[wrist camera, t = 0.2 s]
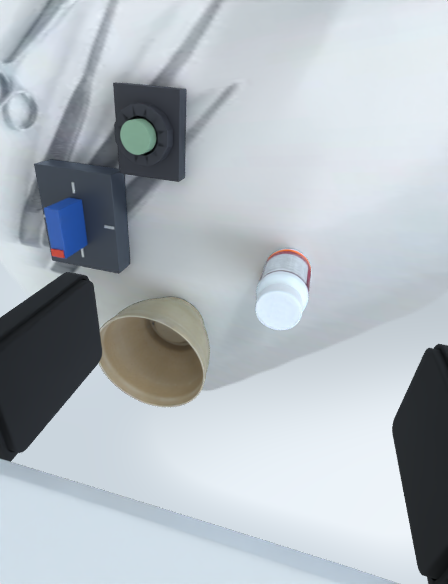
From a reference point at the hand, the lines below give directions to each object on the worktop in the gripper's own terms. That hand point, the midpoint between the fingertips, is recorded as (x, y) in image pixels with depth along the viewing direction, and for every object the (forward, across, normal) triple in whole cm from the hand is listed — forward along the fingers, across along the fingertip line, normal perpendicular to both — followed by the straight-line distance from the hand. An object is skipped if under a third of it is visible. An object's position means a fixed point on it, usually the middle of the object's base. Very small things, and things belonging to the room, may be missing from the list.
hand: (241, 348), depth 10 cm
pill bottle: (+37, 0, +15) cm, 40 cm away
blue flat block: (+33, +29, +11) cm, 45 cm away
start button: (+33, +19, 0) cm, 38 cm away
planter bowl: (+37, +16, +28) cm, 49 cm away
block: (+37, +19, 0) cm, 41 cm away
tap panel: (+37, +29, +11) cm, 48 cm away
